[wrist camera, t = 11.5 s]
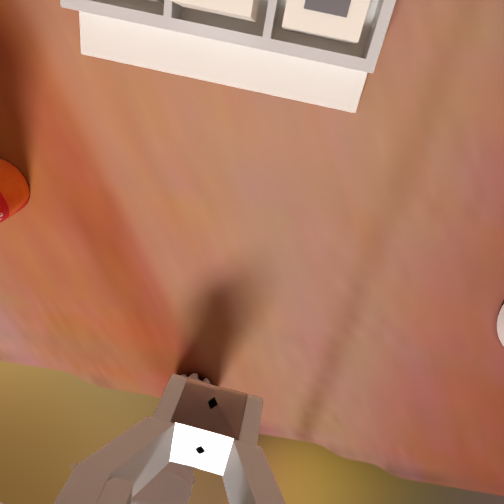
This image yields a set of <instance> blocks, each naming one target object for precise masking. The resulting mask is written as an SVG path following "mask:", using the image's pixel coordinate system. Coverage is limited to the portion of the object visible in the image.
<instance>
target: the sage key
mask: <svg viewBox="0 0 504 504" xmlns="http://www.w3.org/2000/svg"><path fill="white" fill-rule="evenodd" d="M170 1H173V2H175V3H177V4H179V5H181V6H183V7H187V8H192V9H196V10H201V11H206V12H211V13H215V14H220V15H225V16H230V17H234V18H239V19H244V20H249V21H253V22H256V19H257V13H258V7H259V0H170Z"/></svg>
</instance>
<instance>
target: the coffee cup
mask: <svg viewBox="0 0 504 504" xmlns="http://www.w3.org/2000/svg"><path fill="white" fill-rule="evenodd" d="M29 198H30V190H29V186H28V183H27V181H26V179H25V177H24V176H23V174H22V173H21V172H20V171H19V170H18V169H17V168H16V167H15V166H14V165H13V164H11V163H9V162H8V161H6V160H3V159H0V223H1V222H2V221H4V220H5V219H7V218H9V217H10V216H12V215H13V214H15V213H16V212H18V211H19V210H21V209H22V208H23V207H25V206H26V204H27V203H28V201H29Z"/></svg>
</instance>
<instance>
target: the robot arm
mask: <svg viewBox="0 0 504 504" xmlns="http://www.w3.org/2000/svg"><path fill="white" fill-rule="evenodd" d="M497 332H498V336H499V339H500V341H501V343H502V345H503V346H504V304H503V306H502V308H501V310H500V312H499V315H498V320H497ZM262 406H263V398H261V397H257V396H254V395H250V394H247V393H244V392H240V391H236V390H232V389H228V388H224V387H220V386H214V385H211V384H208V383H204V382H201V381H198V380H194V379H191V378H187V377H184V376H180V375H177V374H173V375H172V376H171V378H170V380H169V382H168V384H167V386H166V388H165V391H164V393H163V395H162V397H161V399H160V402H159V404H158V406H157V408H156V410H155V413H154V415H153V417H150V416H147V417H146V418H144V419H143V420H141V421H140V422H138V423H137V424H136V425H134V426H132V427H131V428H130V429H128V430H127V431H125V432H124V433H122V434H121V435H119V436H118V437H116V438H115V439H114V440H112V441H111V442H109V443H108V444H106V445H105V446H104V447H102V448H100V449H99V450H98V451H96V452H95V453H93V454H92V455H90V456H89V457H87V458H86V459H84V460H83V461H82V462H80V463H79V464H77V465H76V467H75V469H74V470H73V472H72V474H71V475H70V477H69V479H68V480H67V482H66V484H65V485H64V487H63V489H62V491H61V492H60V494H59V496H58V497H57V499H56V501H55V502H54V504H131V499H132V497H134V496H135V495H136V494H137V493H138V492H139V491H140V490H141V489H142V488H143V487H144V486H145V485H146V484H147V483H148V482H149V481H150V480H151V479H152V478H154V477H155V476H156V475H157V474H158V473H159V472H160V471H161V470H162V469H163V468H164V467H165V466H166V465H167V464H168V463H169V461H171V462H175V463H180V464H184V465H188V466H192V467H196V468H199V469H202V470H205V471H209V472H212V473H215V474H218V475H222V476H223V481H224V485H225V489H226V493H227V497H228V500H229V504H286V503H285V501H284V498H283V496H282V494H281V491H280V489H279V487H278V484H277V482H276V480H275V478H274V475H273V473H272V470H271V468H270V466H269V464H268V461H267V459H266V457H265V454H264V452H263V450H262V447H259V446H257V441H258V434H259V427H260V420H261V413H262ZM0 504H3V503H0Z"/></svg>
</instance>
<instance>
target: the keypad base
mask: <svg viewBox="0 0 504 504" xmlns="http://www.w3.org/2000/svg"><path fill="white" fill-rule="evenodd" d="M286 1H287V0H259V7H258V13H257V19H256V22H253V21H249V20H244V19H239V18H234V17H230V16H225V15H220V14H215V13H211V12H206V11H201V10H196V9H192V8H187V7H183V6H181V5H179V4H177V3H175V2H173V1H170V0H164V4H159V3H154V2H150V1H145V0H60V2H61V7H64V8H68V9H72V10H76V11H79V18H80V40H81V54H84V55H89V56H93V57H98V58H102V59H107V60H112V61H116V62H121V63H126V64H130V65H135V66H139V67H144V68H149V69H153V70H158V71H163V72H167V73H172V74H177V75H181V76H186V77H190V78H195V79H200V80H204V81H209V82H214V83H218V84H223V85H227V86H232V87H237V88H241V89H246V90H251V91H255V92H260V93H264V94H269V95H274V96H278V97H283V98H288V99H292V100H297V101H302V102H306V103H311V104H315V105H320V106H325V107H329V108H334V109H339V110H343V111H348V112H352V113H355V112H356V109H357V106H358V102H359V99H360V96H361V93H362V89H363V86H364V83H365V80H366V77H367V73H373V72H374V69H375V66H376V62H377V59H378V56H379V53H380V50H381V47H382V43H383V40H384V37H385V34H386V31H387V28H388V24H389V21H390V18H391V15H392V12H393V9H394V5H395V2H396V0H370V3H369V7H368V10H367V14H366V17H365V21H364V24H363V28H362V31H361V35H360V38H359V42H358V43H355V44H349V43H344V42H339V41H334V40H330V39H325V38H320V37H315V36H311V35H306V34H301V33H296V32H292V31H287V30H284V29H283V28H282V22H283V17H284V12H285V7H286Z"/></svg>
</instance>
